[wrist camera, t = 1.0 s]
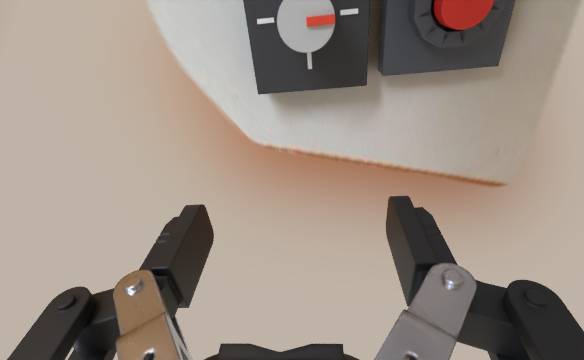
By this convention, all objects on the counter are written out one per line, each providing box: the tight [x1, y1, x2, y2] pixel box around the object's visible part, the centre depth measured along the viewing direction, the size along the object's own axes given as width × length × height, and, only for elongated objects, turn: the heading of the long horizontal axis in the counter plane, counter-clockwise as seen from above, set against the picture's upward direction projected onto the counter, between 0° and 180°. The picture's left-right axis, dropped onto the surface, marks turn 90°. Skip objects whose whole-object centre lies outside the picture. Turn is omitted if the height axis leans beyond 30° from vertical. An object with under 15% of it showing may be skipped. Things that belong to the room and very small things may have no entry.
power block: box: [378, 0, 515, 76], centre depth 24 cm, size 11×10×4 cm
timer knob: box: [277, 0, 335, 53], centre depth 22 cm, size 4×4×5 cm
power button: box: [434, 0, 494, 30], centre depth 22 cm, size 4×4×2 cm
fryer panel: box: [243, 0, 370, 94], centre depth 26 cm, size 12×10×3 cm
